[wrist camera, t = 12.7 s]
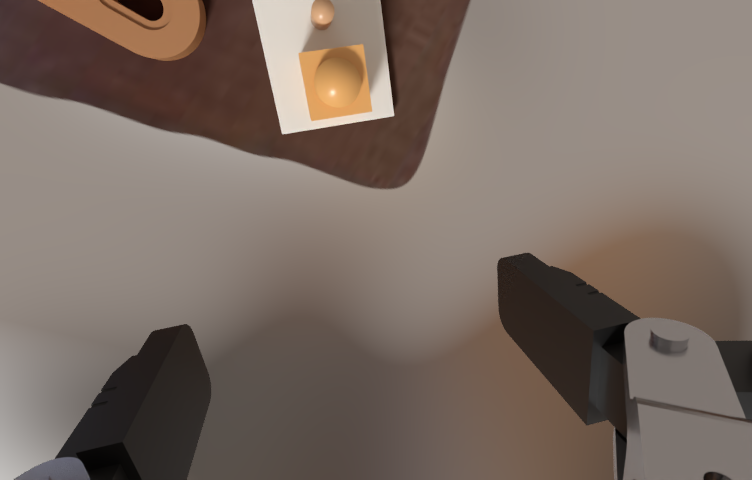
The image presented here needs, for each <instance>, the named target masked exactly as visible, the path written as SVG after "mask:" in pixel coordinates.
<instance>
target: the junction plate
mask: <svg viewBox="0 0 752 480" xmlns="http://www.w3.org/2000/svg"><path fill="white" fill-rule="evenodd" d="M252 1H253V5H254V10H255V14H256V19H257V23H258V28H259V32H260V37H261V41H262V46H263V50H264V55H265V59H266V64H267V68H268V73H269V77H270V82H271V86H272V91H273V95H274V99H275V104H276V108H277V113H278V117H279V122H280V126H281V131H282V134H287V133H293V132H300V131H306V130H312V129H318V128H324V127H330V126H336V125H342V124H348V123H355V122H361V121H367V120H373V119H379V118H385V117H391V116H394V110H393V101H392V93H391V85H390V76H389V68H388V60H387V51H386V43H385V34H384V26H383V18H382V9H381V1H380V0H252ZM360 44H363V46H364V54H365V61H366V68H367V76H368V83H369V91H370V98H371V105H372V112H367V113H360V114H354V115H348V116H341V117H335V118H328V119H322V120H316V121H311V119H310V114H309V109H308V104H307V99H306V93H305V88H304V83H303V78H302V72H301V67H300V62H299V54H298V53H302V52H309V51H316V50H323V49H331V48H338V47H345V46H353V45H360Z"/></svg>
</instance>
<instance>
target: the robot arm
mask: <svg viewBox="0 0 752 480" xmlns="http://www.w3.org/2000/svg"><path fill="white" fill-rule="evenodd" d="M497 271H498V303H499V315H500V319H501V322H502V324H503V327H504V329H505V330H506V332H507V333H508V334H509V335H510V337H511V338H512V339H513V340H514V341H515V342H516V344H517V345H518V346H519V347H520V348H521V349H522V351H523V352H524V353H525V354H526V355H527V356H528V358H529V359H530V360H531V361H532V362H533V363H534V364H535V366H536V367H537V368H538V369H539V370H540V371H541V373H542V374H543V375H544V376H545V377H546V379H547V380H548V381H549V382H550V383H551V384H552V386H553V387H554V388H555V389H556V390H557V391H558V393H559V394H560V395H561V396H562V397H563V398H564V400H565V401H566V402H567V403H568V404H569V405H570V407H571V408H572V409H573V410H574V411H575V412H576V413H577V415H578V416H579V417H580V418H581V419H582V421H583V422H584V423H585V424H586V425H590V424H594V423H597V422H601V421H605V420H609V421H610V422H611V423H612V425H613V426H614V435H613V451H614V480H752V341H714V340H713V339H712V338H711V337H710V336H709V335H707V334H706V333H705V332H703V331H701V330H700V329H698V328H696V327H694V326H691V325H688V324H685V323H683V322H679V321H675V320H670V319H664V318H643V319H640V318H639V317H637V316H636V315H634V314H633V313H631V312H630V311H628V310H627V309H625V308H624V307H622V306H621V305H619V304H618V303H616V302H615V301H613V300H612V299H610V298H609V297H607V296H606V295H604V294H603V293H599V292H598V290H597V289H595V288H594V287H592V286H591V285H587V284H586V282H585V281H583V280H582V279H580V278H579V277H577V276H576V275H574V274H573V273H571V272H568V271H565V270H562V269H559V268H556V267H553V266H550V267H549V266H548V265H546V264H545V263H543V262H542V261H540V260H539V259H538V258H536V257H535V256H533V255H532V254H530V253H524V254H519V255H514V256H509V257H505V258H501V259H500V260H499V261H498V266H497ZM101 391H102V392H101V393H99V394H98V395H97V397H96V398H95V400H94V401H93V403H92V407H91V408H89V409H88V410H87V412H86V413H85V415H84V417H83V418H82V419H81V421H80V422H79V423H78V425H77V426H76V428H75V429H74V431H73V432H72V434H71V435H70V437H69V438H68V440H67V441H66V443H65V444H64V446H63V447H62V449H61V450H60V452H59V453H58V455H57V456H56V458H55V459H53V460H50V461H47V462H45V463H42V464H40V465H38V466H36V467H34V468H32V469H30V470H28V471H26V472H25V473H23V474H21V475H20V476H18V477H17V478H15V479H14V480H187V477H188V473H189V470H190V467H191V463H192V460H193V457H194V453H195V450H196V447H197V443H198V440H199V437H200V433H201V430H202V427H203V423H204V420H205V416H206V413H207V410H208V406H209V403H210V399H211V382H210V377H209V374H208V371H207V368H206V366H205V363H204V360H203V358H202V355H201V352H200V350H199V347H198V344H197V341H196V339H195V336H194V333H193V331H192V329H191V328H190V326H188V325H187V324H184V325H179V326H174V327H170V328H165V329H160V330H155V331H153V332H152V333H151V334H150V335H149V337H148V339H147V340H146V342H145V343H144V345H143V347H142V348H141V350H140V352H139V353H138V355H136V356H132V357H131V358H129V359H128V360H127V361H126V362H125V363H124V364H122V365H121V366H120V367H119V368H118V369H117V370H116V371H114V372H113V373H112V375H111V376H110V378H109V379H108V381H107V382H106V384H105V385H104V387H103V388H102V390H101Z"/></svg>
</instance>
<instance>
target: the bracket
mask: <svg viewBox="0 0 752 480" xmlns="http://www.w3.org/2000/svg"><path fill="white" fill-rule="evenodd" d="M38 1H40V2H42V3H44V4H45V5H47V6H49V7H51V8H53V9H55V10H57V11H58V12H60V13H62V14H64V15H66V16H68V17H69V18H71V19H73V20H75V21H77V22H79V23H81V24H82V25H84V26H86V27H88V28H90V29H92V30H94V31H95V32H97V33H99V34H101V35H103V36H105V37H106V38H108V39H110V40H112V41H114V42H116V43H118V44H119V45H121V46H123V47H125V48H127V49H129V50H130V51H132V52H134V53H136V54H139V55H142V56H145V57H149V58H153V59H157V60H164V61H170V60H177V59H181V58H183V57H185V56H187V55H189V54H190V53H192V52H193V51H194V50H195V49H196V48H197V47H198V45H199V44H200V42H201V40H202V38H203V36H204V32H205V28H206V13H205V8H204V4H203V1H202V0H161V2H162V4H163V8H164V12H163V15H162V17H161V18H160V19H159V20H157V21H150V20H148V19H146V18H144V17H143V16H141V15H139V14H137V13H136V12H134V11H132V10H131V9H129V8H127V7H125V6H124V5H122V4H121V3H120V2H119V1H118V0H38Z"/></svg>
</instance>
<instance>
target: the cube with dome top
mask: <svg viewBox="0 0 752 480" xmlns="http://www.w3.org/2000/svg"><path fill="white" fill-rule="evenodd" d="M298 54H299V62H300V67H301V72H302V78H303V83H304V88H305V93H306V99H307V104H308V109H309V114H310V119H311V121H316V120H322V119H328V118H335V117H341V116H348V115H354V114H360V113H367V112H372V105H371V98H370V91H369V83H368V76H367V68H366V61H365V54H364V46H363V44H360V45H353V46H345V47H338V48H331V49H323V50H316V51H309V52H302V53H298Z"/></svg>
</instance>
